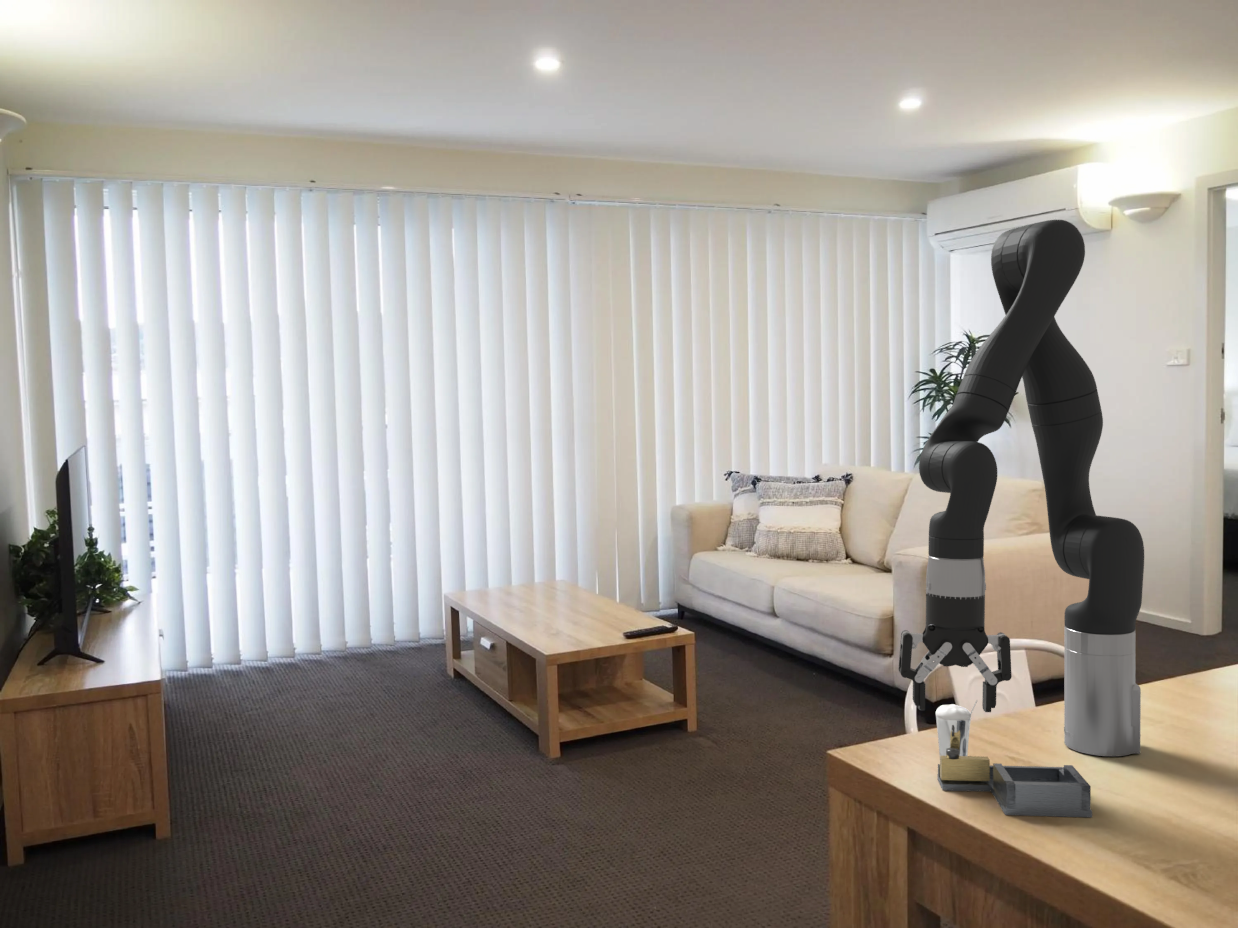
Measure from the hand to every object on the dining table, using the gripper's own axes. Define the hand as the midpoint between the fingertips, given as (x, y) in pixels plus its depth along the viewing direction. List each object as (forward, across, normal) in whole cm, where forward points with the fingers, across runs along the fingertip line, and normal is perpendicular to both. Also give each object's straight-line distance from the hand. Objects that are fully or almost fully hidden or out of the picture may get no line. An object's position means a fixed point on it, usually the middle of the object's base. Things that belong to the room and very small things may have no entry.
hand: (953, 709), depth 140 cm
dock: (+9, -6, +8) cm, 13 cm away
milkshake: (+9, -1, 0) cm, 9 cm away
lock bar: (+8, -1, +5) cm, 9 cm away
